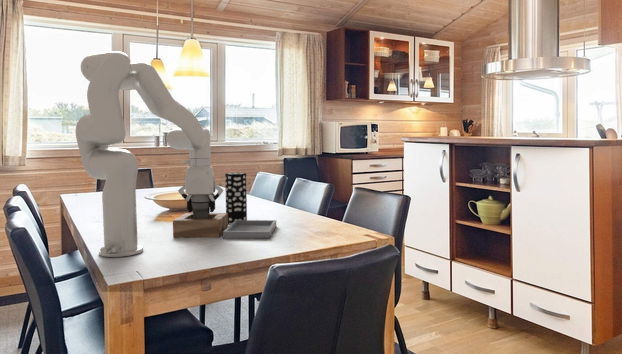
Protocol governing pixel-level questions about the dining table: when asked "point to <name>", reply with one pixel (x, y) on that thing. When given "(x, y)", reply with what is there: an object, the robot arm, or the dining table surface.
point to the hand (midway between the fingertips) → (201, 211)
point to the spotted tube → (236, 196)
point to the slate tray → (250, 229)
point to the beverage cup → (201, 206)
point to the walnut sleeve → (200, 226)
